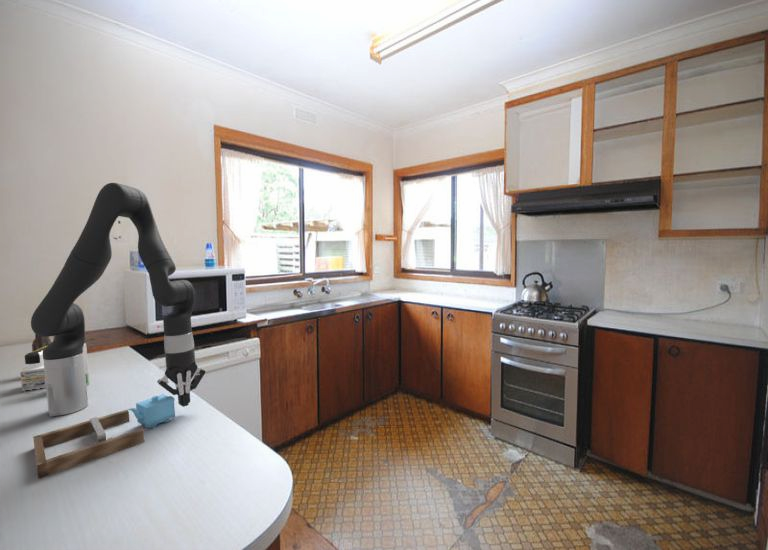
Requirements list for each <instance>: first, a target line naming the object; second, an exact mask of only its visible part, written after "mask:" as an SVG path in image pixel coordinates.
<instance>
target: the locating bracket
mask: <svg viewBox="0 0 768 550" xmlns="http://www.w3.org/2000/svg"><path fill="white" fill-rule="evenodd" d="M129 411H130V410H127V409H125V410H121V411H117V412H114V413H111V414H110V413H109V414H106V415H103V416H100V417H97V418H98V420H99V422H100V424H101V426H102V428H103V429H106V430H107V429H109V428H112V427H115V426H118V425H121V424H124V423H127V422H130V414H129V413H130V412H129ZM90 434H91V428H90V419H89V420H87V421H83V422H79V423H76V424H72V425H69V426H66V427H63V428H58V429H56V430H52V431H48V432H44V433H40V434H37V435H35V436H34V435H33V437H32V438H33V446H34V453H35V454H34V455H35V462H36V469H37V471H36V472H37V478H38V479H43V478H45V477H48V476H51V475H53V474H56V473H60V472H62V471H65V470H68V469H71V468H73V467H76V466H77V467H78V466H79V465H83V464H84V463H88V462H91V461H94V460H96V459H98V458H99V459H100V458H101V457H105V456H107V455H110V454H113V453H116V452H119V451H122V450H124V449H127V448H130V447H133V446H135V445H138V444H141V443H144V442H145V433H144V429H143V428H139V429H136V430H132V431H129V432H126V433H124V434H120V435H118V436H115V437H111V438H108V439H106V440H105V441H102V442H99V443H93V444H90V445H87V446H84V447H81V448H78V449H75V450H72V451H69V452H65V453H63V454H60V455H57V456H54V457H50V458H47V457H46V452H45V448H48V447H51V446H53V445H57V444H60V443H63V442H66V441H70V440H73V439H76V438H80V437H83V436H86V435H90ZM46 458H47V459H46ZM38 479H37V480H38Z"/></svg>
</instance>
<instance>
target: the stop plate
mask: <svg viewBox="0 0 768 550" xmlns="http://www.w3.org/2000/svg"><path fill="white" fill-rule="evenodd" d="M98 418H99V417H97V416H95V417H92V418H89V420H90V428H91V433H90V434H91V436H92V438H93V441H94V444H96V443H99V442H102V441H105V440H107V434H106V431H105V430H104V429H103V428H102V426H101V424H100V422H99V420H98Z"/></svg>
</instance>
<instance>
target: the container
mask: <svg viewBox="0 0 768 550" xmlns="http://www.w3.org/2000/svg"><path fill="white" fill-rule="evenodd" d="M24 365H25V367H24V368H23V369H21V370H19V373H20V383H21V391H22V390H23V391H24V390H30V391H32V390H31V389H37V390H41V389H40V388H43V389H46V385H45V382H46V380H45V371H44V362H43V350H42V351H34V352H32V351H30V352H29V353H26V354H25V355H24ZM23 391H22V392H23ZM24 392H25V391H24Z"/></svg>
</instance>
